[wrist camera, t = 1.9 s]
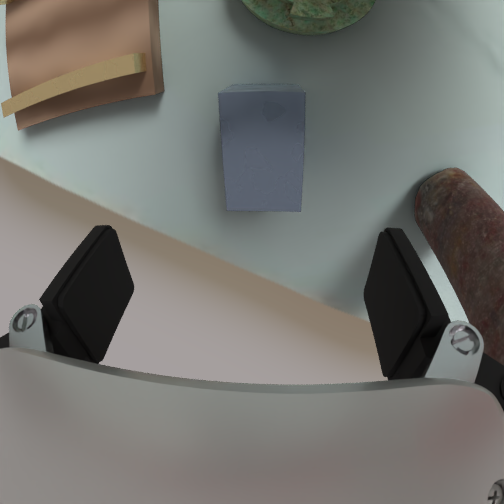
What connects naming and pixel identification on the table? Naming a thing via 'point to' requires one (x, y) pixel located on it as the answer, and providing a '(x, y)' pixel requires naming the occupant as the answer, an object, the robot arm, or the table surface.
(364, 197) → the table surface
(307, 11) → the decorative artifact
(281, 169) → the block
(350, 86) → the table surface
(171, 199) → the table surface
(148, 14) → the channel stand
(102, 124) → the table surface
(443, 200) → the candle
